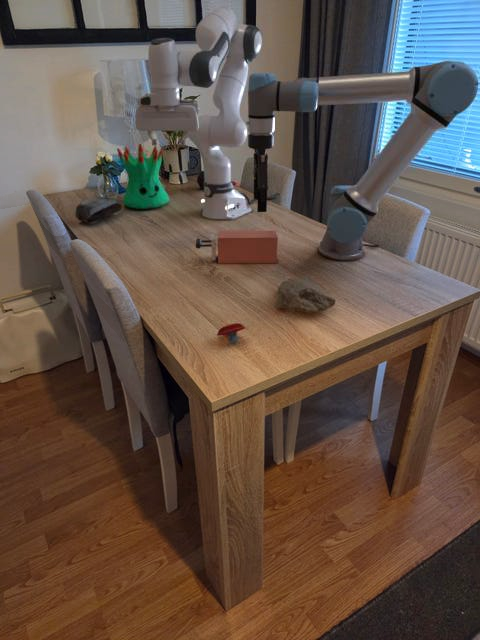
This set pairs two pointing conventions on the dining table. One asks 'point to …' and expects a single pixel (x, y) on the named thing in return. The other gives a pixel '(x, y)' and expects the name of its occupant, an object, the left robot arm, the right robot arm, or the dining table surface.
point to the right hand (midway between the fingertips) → (259, 205)
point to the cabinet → (247, 246)
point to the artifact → (302, 296)
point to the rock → (96, 209)
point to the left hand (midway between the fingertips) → (168, 145)
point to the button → (231, 331)
